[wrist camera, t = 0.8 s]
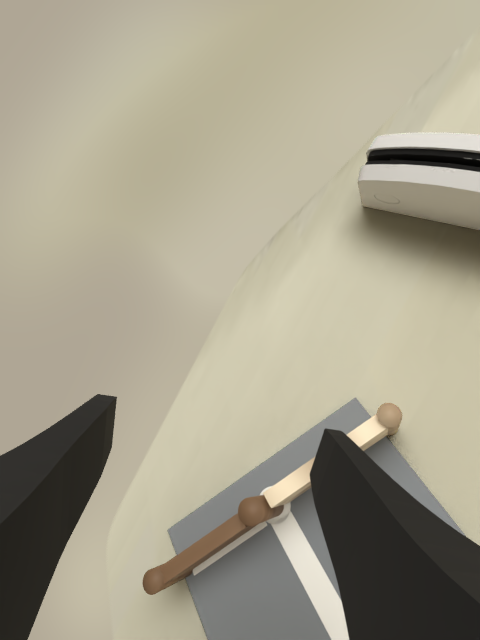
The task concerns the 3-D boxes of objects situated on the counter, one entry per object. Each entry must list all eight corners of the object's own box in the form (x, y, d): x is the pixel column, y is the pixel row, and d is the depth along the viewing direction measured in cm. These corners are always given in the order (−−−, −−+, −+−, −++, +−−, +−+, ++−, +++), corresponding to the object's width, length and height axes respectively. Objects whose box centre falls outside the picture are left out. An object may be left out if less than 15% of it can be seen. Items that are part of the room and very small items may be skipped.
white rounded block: (591, 196, 27) (661, 127, 19) (563, 254, 28) (619, 212, 19) (381, 166, 36) (361, 108, 27) (363, 211, 36) (338, 168, 27)
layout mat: (540, 631, 20) (543, 634, 19) (270, 800, 21) (268, 805, 21) (355, 398, 28) (355, 397, 27) (169, 529, 29) (167, 529, 29)
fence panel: (290, 505, 26) (271, 512, 21) (280, 487, 27) (259, 490, 22) (402, 428, 25) (407, 417, 21) (389, 411, 26) (390, 398, 21)
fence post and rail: (289, 508, 26) (266, 517, 21) (184, 580, 27) (138, 605, 22) (277, 488, 27) (253, 492, 22) (176, 559, 28) (130, 578, 23)
